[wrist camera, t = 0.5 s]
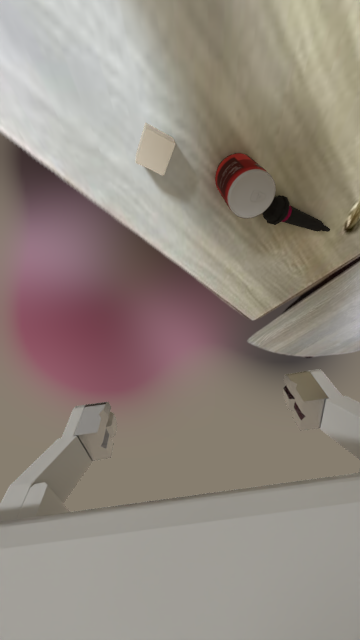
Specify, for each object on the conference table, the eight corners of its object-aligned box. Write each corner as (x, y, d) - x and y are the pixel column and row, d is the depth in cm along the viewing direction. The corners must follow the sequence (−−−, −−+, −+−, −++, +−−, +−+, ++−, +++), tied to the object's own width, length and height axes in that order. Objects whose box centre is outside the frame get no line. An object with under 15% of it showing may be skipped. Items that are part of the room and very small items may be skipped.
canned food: (252, 191, 51) (272, 214, 44) (214, 198, 51) (228, 222, 44) (256, 147, 46) (279, 165, 38) (213, 156, 46) (228, 175, 38)
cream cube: (145, 122, 41) (145, 128, 38) (172, 137, 43) (175, 144, 40) (135, 154, 44) (135, 162, 41) (161, 167, 46) (163, 176, 43)
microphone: (325, 216, 61) (263, 191, 52) (345, 220, 56) (281, 193, 47) (313, 238, 63) (253, 217, 54) (332, 244, 58) (269, 222, 50)
